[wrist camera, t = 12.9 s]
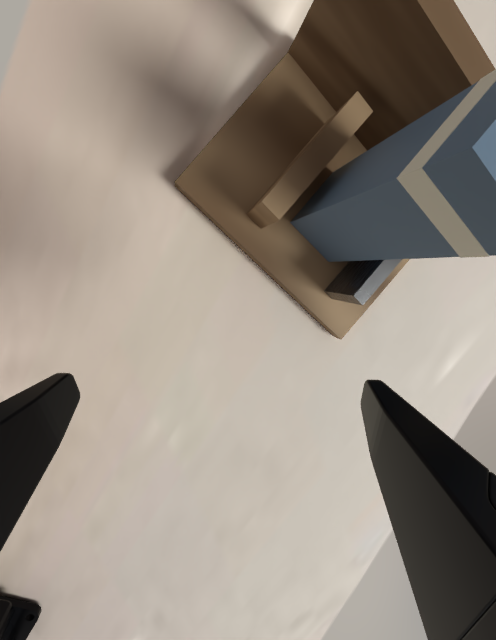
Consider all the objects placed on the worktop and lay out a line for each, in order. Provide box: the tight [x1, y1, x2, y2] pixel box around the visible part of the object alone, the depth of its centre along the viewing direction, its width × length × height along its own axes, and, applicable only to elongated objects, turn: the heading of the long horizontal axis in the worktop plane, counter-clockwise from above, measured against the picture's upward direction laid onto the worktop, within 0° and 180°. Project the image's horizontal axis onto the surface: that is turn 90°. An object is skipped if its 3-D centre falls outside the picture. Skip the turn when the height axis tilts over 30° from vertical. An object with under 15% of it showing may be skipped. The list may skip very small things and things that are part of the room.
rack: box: [175, 0, 495, 339], centre depth 16 cm, size 11×14×8 cm
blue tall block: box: [290, 69, 496, 262], centre depth 13 cm, size 4×4×12 cm
